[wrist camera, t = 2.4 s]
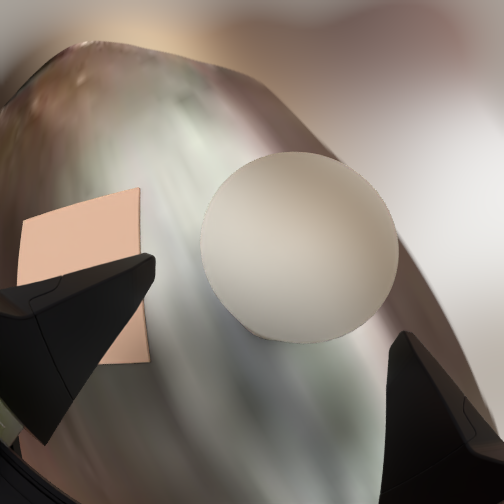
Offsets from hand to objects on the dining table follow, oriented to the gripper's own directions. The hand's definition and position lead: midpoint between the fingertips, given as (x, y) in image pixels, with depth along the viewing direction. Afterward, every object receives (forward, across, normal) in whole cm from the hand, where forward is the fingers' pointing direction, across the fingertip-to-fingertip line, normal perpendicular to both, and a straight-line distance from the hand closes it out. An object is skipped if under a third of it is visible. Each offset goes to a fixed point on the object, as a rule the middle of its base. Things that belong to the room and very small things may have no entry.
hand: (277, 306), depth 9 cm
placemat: (+5, +15, +8) cm, 18 cm away
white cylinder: (+7, 0, +5) cm, 9 cm away
